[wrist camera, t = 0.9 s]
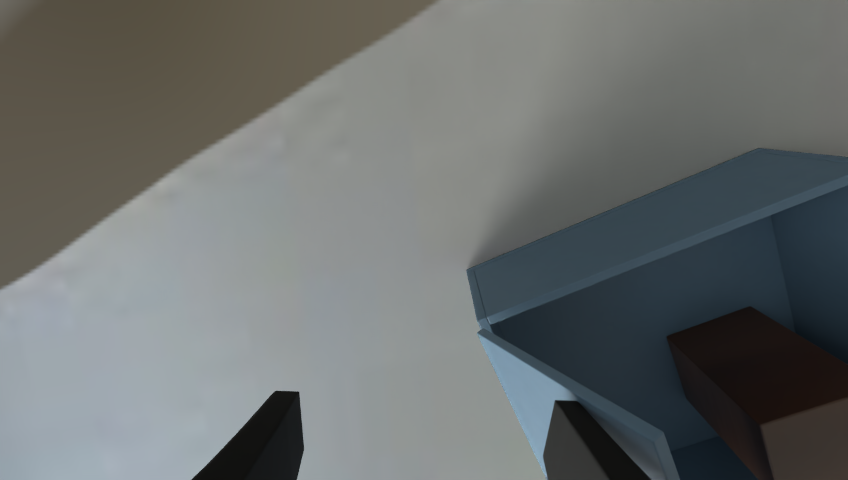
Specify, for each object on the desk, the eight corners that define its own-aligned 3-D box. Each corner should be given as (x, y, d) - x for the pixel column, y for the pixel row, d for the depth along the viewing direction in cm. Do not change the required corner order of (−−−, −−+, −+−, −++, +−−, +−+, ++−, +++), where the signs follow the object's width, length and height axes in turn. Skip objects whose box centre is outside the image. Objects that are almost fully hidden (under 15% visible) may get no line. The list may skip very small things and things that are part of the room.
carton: (813, 404, 23) (925, 489, 17) (565, 483, 25) (599, 579, 20) (758, 147, 18) (884, 160, 13) (466, 269, 21) (476, 320, 15)
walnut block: (766, 371, 22) (898, 472, 15) (685, 398, 22) (781, 506, 16) (750, 305, 20) (885, 386, 14) (665, 335, 21) (760, 425, 15)
